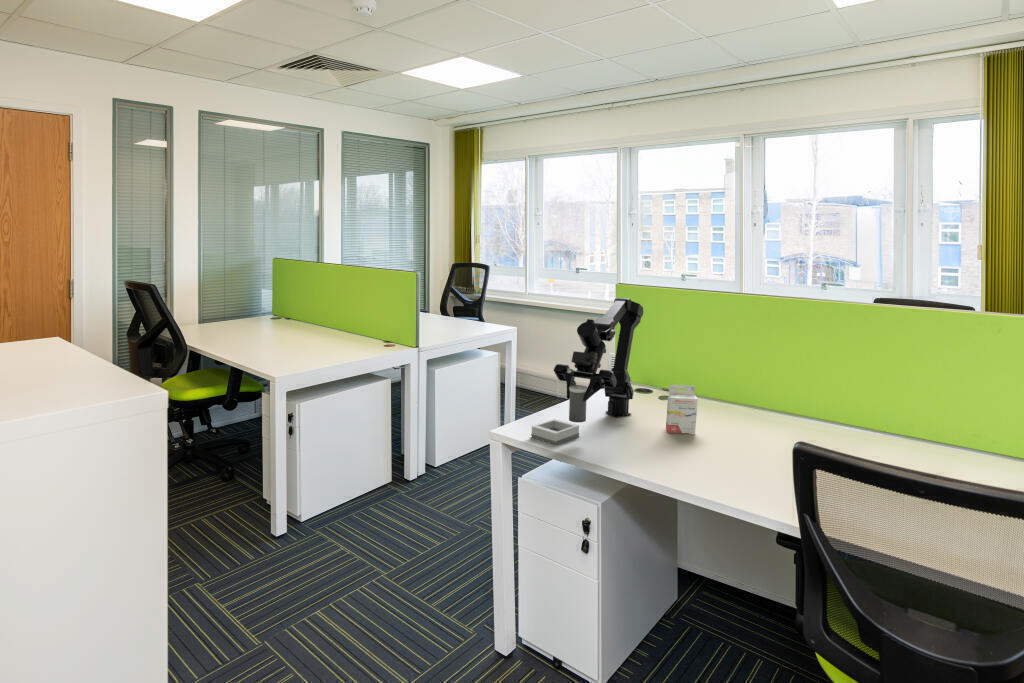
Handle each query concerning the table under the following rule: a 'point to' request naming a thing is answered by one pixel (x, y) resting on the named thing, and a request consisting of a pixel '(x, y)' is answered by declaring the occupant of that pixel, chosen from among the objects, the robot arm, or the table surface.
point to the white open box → (555, 431)
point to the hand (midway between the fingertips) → (575, 399)
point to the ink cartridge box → (681, 409)
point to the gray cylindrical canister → (577, 403)
